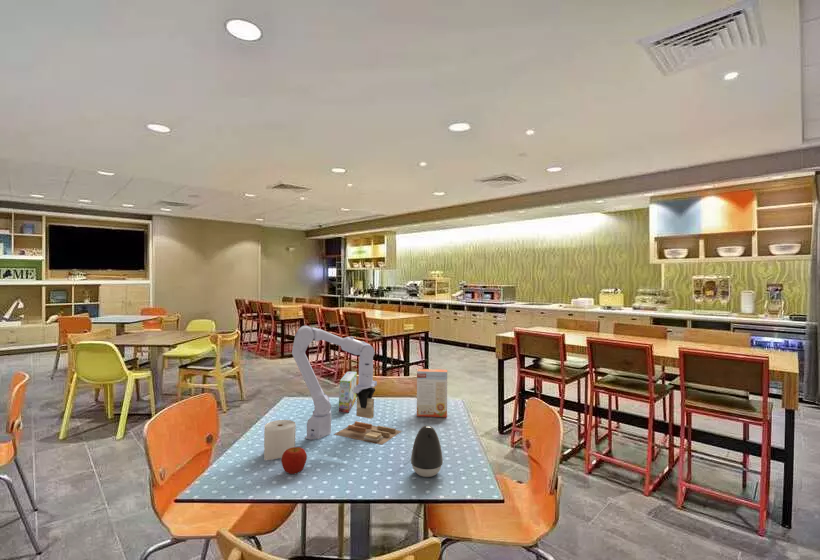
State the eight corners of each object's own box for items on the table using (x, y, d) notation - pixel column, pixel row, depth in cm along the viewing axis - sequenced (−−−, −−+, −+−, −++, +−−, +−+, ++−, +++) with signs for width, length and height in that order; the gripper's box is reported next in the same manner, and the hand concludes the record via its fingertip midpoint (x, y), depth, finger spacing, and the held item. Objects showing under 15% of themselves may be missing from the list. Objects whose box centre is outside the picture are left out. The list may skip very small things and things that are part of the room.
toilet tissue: (295, 445, 154) (295, 418, 155) (295, 459, 143) (295, 429, 143) (265, 448, 152) (265, 420, 152) (262, 462, 140) (262, 432, 140)
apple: (296, 464, 139) (297, 441, 139) (311, 471, 134) (312, 447, 134) (276, 472, 133) (276, 447, 133) (291, 480, 128) (291, 454, 128)
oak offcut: (376, 439, 156) (376, 436, 156) (365, 437, 158) (365, 434, 158) (381, 436, 159) (381, 433, 159) (370, 434, 161) (370, 431, 161)
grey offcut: (377, 442, 155) (377, 439, 155) (364, 439, 158) (364, 437, 158) (382, 439, 159) (383, 436, 159) (369, 436, 162) (369, 433, 162)
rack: (381, 447, 153) (382, 440, 153) (333, 437, 163) (333, 430, 163) (402, 434, 168) (402, 427, 168) (356, 425, 178) (356, 418, 178)
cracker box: (447, 413, 195) (447, 369, 195) (447, 418, 189) (447, 371, 189) (417, 412, 196) (417, 368, 196) (416, 416, 190) (416, 370, 190)
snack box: (350, 413, 194) (350, 380, 194) (338, 412, 194) (338, 380, 194) (356, 400, 215) (357, 371, 215) (345, 400, 215) (346, 370, 216)
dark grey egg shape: (416, 483, 127) (416, 433, 127) (407, 468, 137) (407, 422, 137) (447, 479, 130) (448, 430, 130) (436, 465, 140) (437, 419, 140)
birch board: (370, 418, 167) (371, 400, 167) (356, 415, 170) (356, 397, 170) (373, 417, 168) (373, 398, 168) (359, 414, 172) (359, 396, 172)
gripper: (364, 378, 161) (363, 413, 161) (383, 371, 174) (382, 403, 174) (349, 376, 164) (348, 410, 164) (369, 369, 177) (368, 401, 177)
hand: (365, 407), depth 169 cm, fingers closed on birch board, 2 cm apart
